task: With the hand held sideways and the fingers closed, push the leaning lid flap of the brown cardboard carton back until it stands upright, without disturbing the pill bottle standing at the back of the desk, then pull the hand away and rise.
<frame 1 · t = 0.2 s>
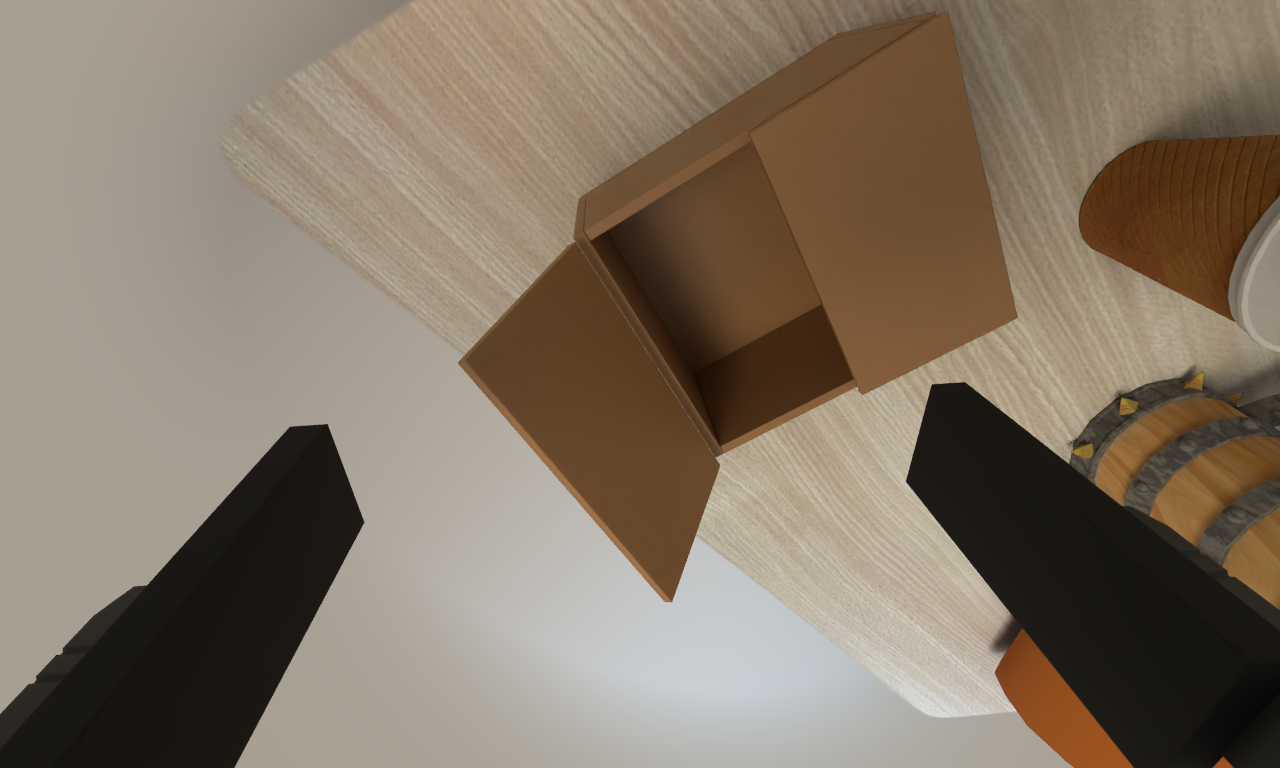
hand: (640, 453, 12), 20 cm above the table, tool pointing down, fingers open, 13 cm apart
disposable coffee cup: (1130, 198, 31), on the table
carton: (753, 230, 30), on the table
mug: (1167, 421, 40), on the table
flap: (621, 426, 21), point 12 cm above the table, hinge at 120.0°
alarm clock: (1102, 620, 51), on the table
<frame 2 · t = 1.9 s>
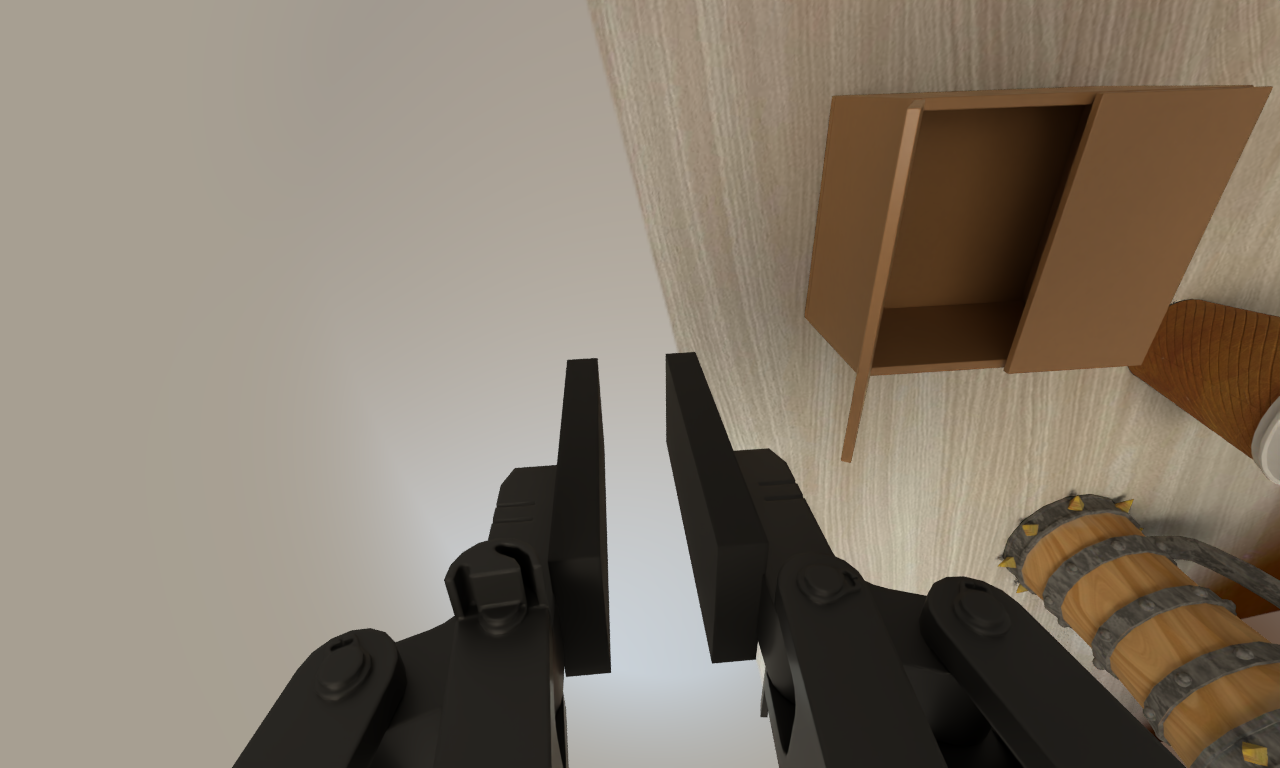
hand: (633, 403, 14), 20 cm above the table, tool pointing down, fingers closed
disposable coffee cup: (1168, 339, 39), on the table
carton: (936, 211, 33), on the table
mug: (1084, 531, 48), on the table
flap: (882, 283, 22), point 12 cm above the table, hinge at 120.0°
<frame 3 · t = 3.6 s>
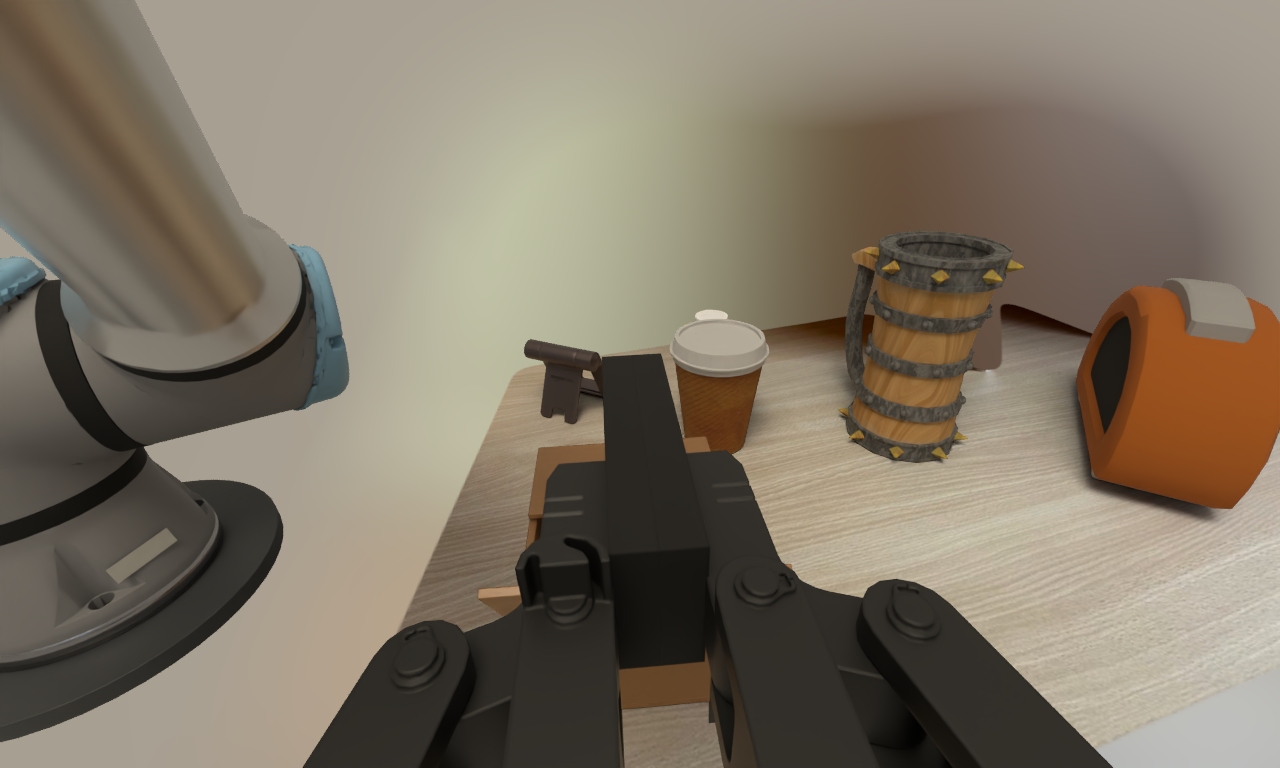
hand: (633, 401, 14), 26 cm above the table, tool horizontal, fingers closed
pill bottle: (708, 377, 70), on the table
disposable coffee cup: (714, 440, 57), on the table
carton: (633, 604, 39), on the table
mug: (883, 423, 59), on the table
flap: (636, 596, 25), point 12 cm above the table, hinge at 120.0°
alarm clock: (1130, 447, 54), on the table
tablet stand: (576, 405, 64), on the table
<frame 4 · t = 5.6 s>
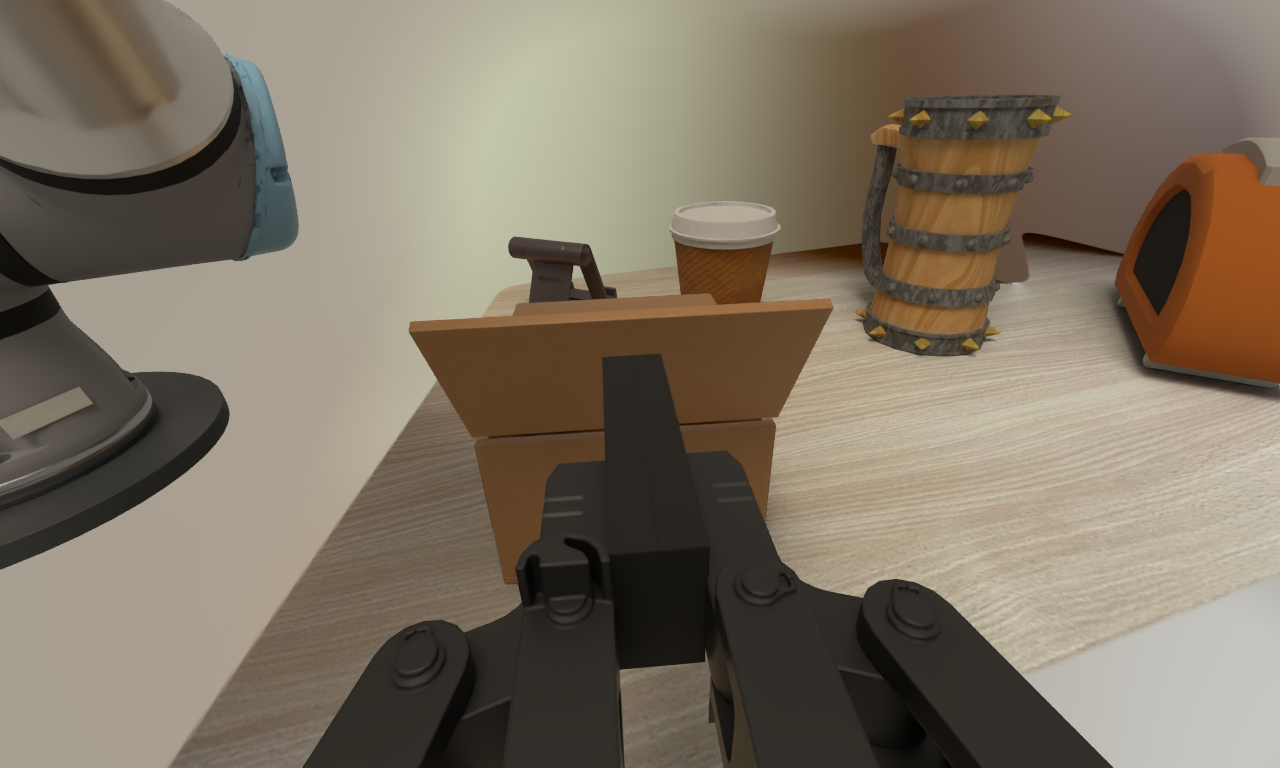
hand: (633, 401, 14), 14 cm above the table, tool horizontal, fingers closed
disposable coffee cup: (718, 341, 52), on the table
carton: (626, 479, 34), on the table
mug: (904, 325, 54), on the table
flap: (626, 377, 19), point 12 cm above the table, hinge at 120.0°
alarm clock: (1182, 342, 49), on the table
tablet stand: (566, 315, 59), on the table
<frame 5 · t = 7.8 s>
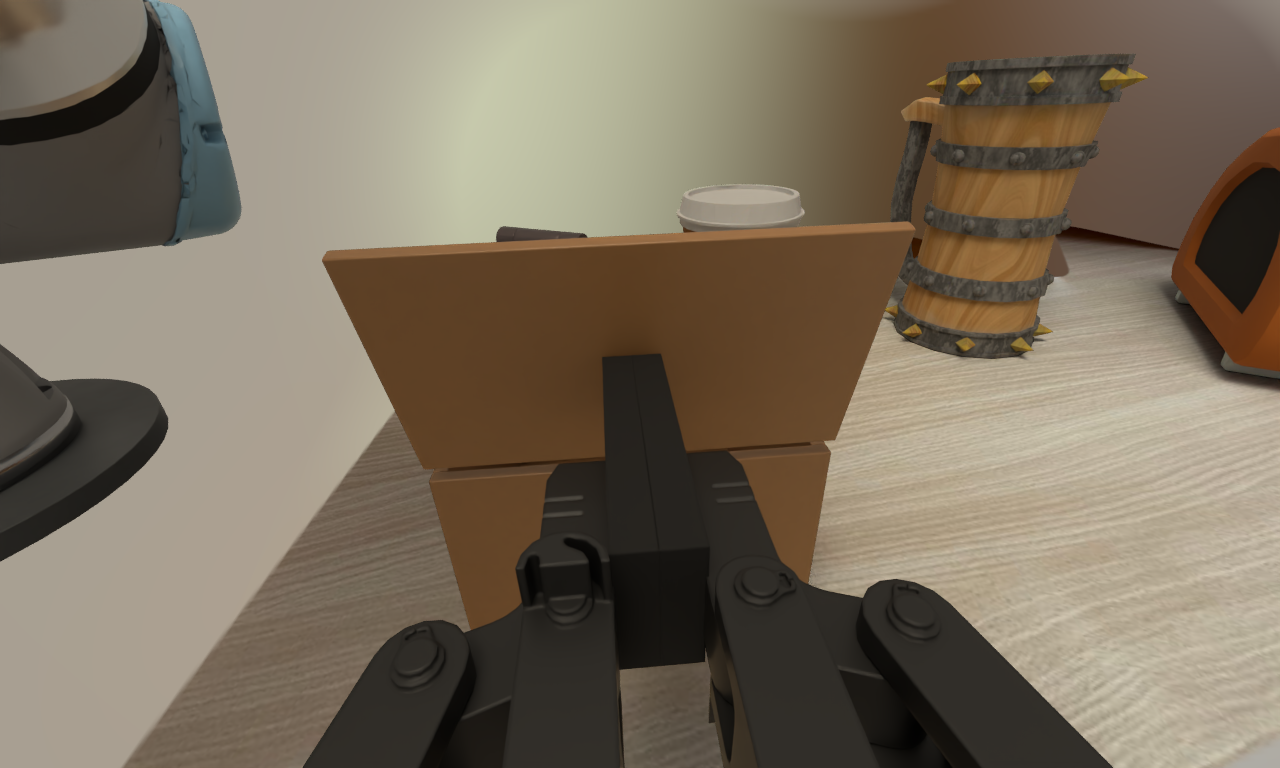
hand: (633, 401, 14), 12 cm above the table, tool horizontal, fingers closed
disposable coffee cup: (732, 342, 46), on the table
carton: (630, 508, 28), on the table
mug: (939, 324, 48), on the table
flap: (630, 363, 14), point 13 cm above the table, hinge at 105.5°, touching gripper
alarm clock: (1259, 341, 43), on the table
tablet stand: (562, 313, 53), on the table
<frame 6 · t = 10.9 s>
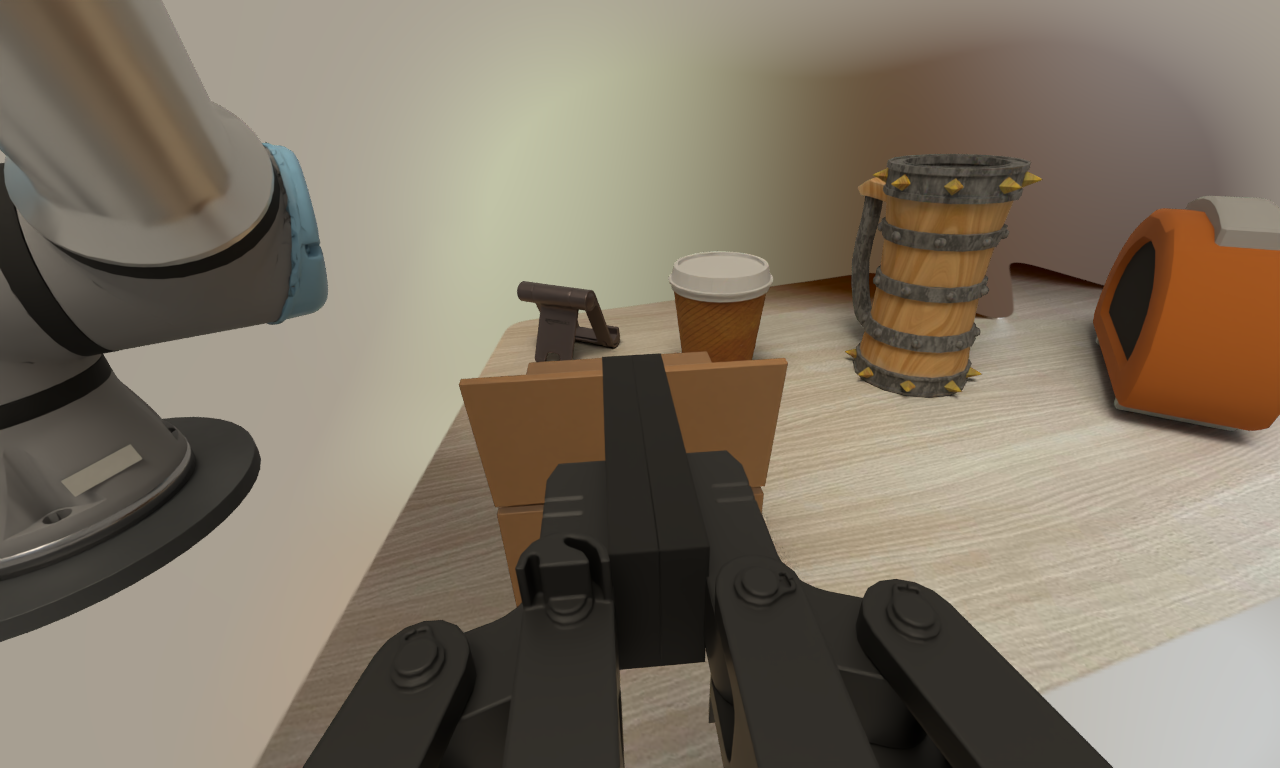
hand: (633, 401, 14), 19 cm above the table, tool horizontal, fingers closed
disposable coffee cup: (716, 381, 55), on the table
carton: (630, 526, 37), on the table
mug: (892, 364, 56), on the table
flap: (628, 438, 23), point 13 cm above the table, hinge at 99.8°
alarm clock: (1153, 382, 51), on the table
tablet stand: (572, 353, 62), on the table
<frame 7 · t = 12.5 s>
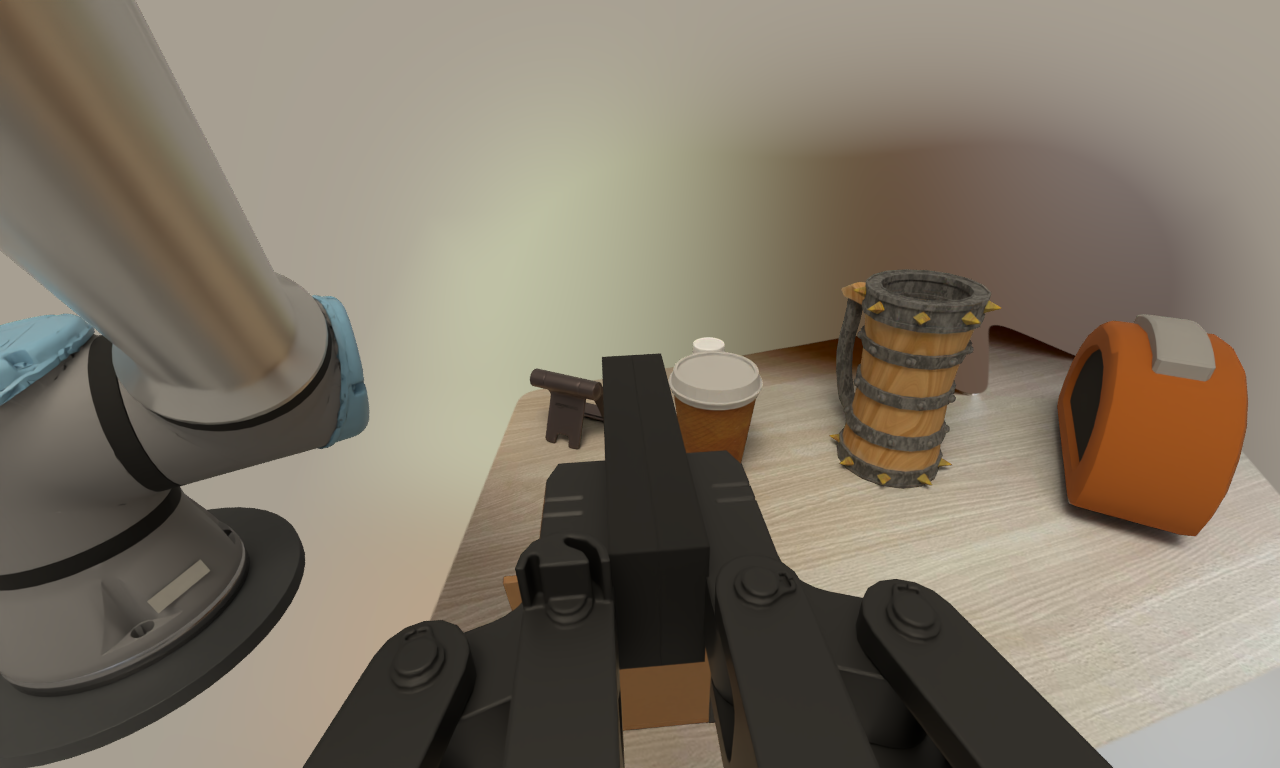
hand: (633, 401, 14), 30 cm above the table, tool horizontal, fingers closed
pill bottle: (706, 401, 72), on the table
disposable coffee cup: (711, 465, 60), on the table
carton: (634, 629, 42), on the table
mug: (872, 448, 62), on the table
flap: (636, 607, 29), point 13 cm above the table, hinge at 99.8°
alarm clock: (1106, 472, 57), on the table
tablet stand: (579, 430, 67), on the table
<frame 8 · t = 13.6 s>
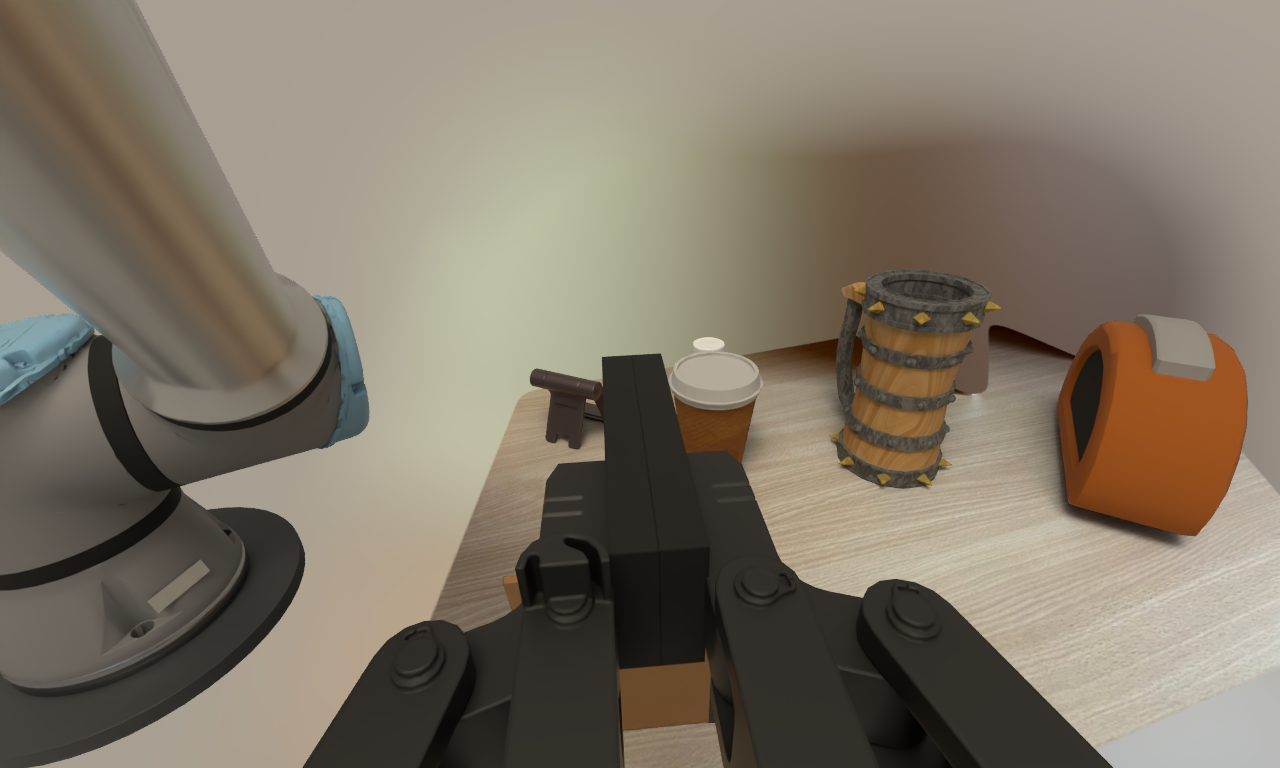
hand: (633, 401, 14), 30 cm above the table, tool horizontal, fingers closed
pill bottle: (706, 401, 72), on the table
disposable coffee cup: (711, 465, 60), on the table
carton: (634, 629, 42), on the table
mug: (872, 448, 62), on the table
flap: (636, 607, 29), point 13 cm above the table, hinge at 99.8°
alarm clock: (1106, 472, 57), on the table
tablet stand: (579, 430, 67), on the table
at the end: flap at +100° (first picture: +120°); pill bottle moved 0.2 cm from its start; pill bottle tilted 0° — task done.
